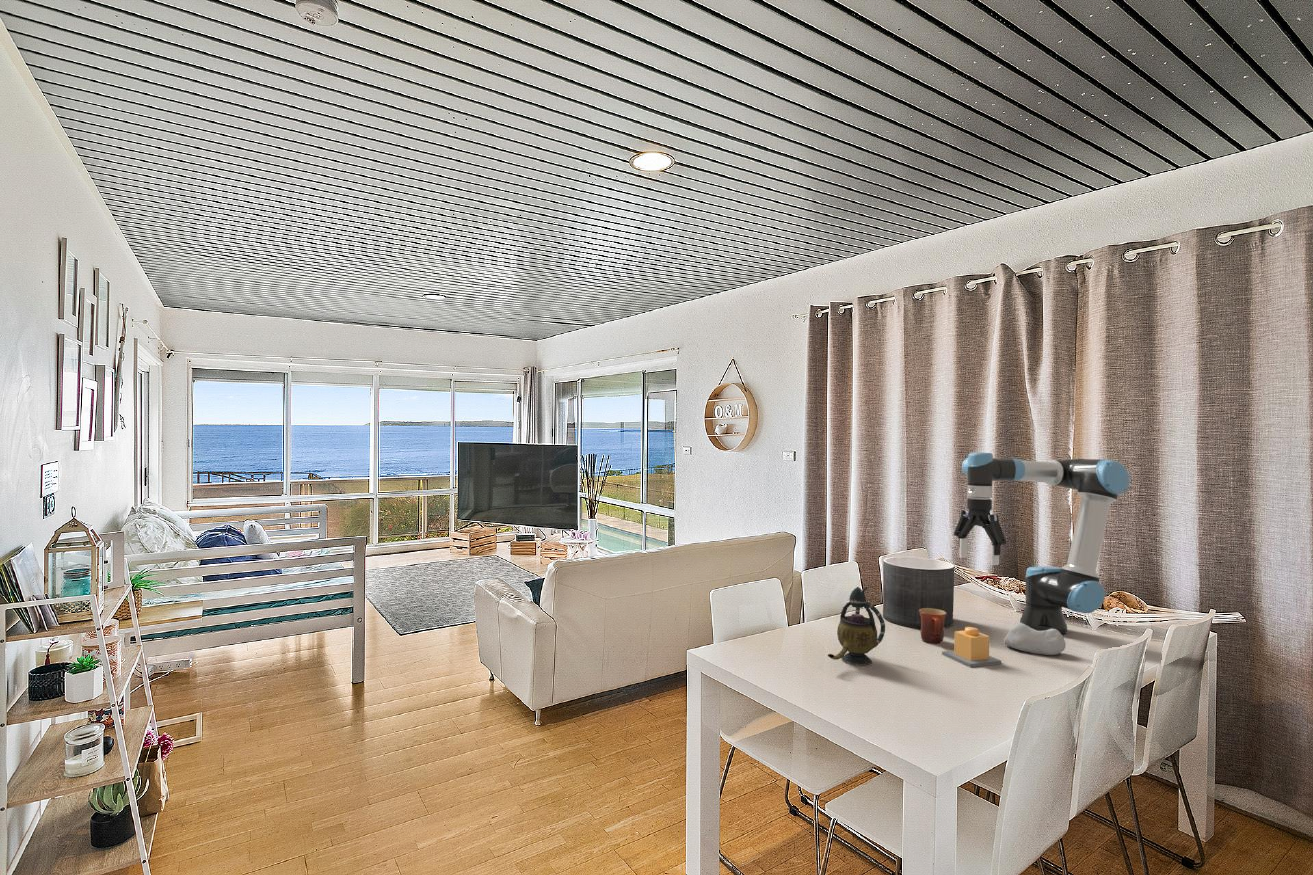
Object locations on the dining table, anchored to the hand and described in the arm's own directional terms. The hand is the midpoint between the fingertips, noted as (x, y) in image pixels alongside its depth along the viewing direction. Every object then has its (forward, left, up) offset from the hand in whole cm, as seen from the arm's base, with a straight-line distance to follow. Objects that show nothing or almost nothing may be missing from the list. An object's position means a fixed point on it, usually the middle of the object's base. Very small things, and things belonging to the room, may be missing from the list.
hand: (978, 561), depth 218 cm
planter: (-2, -32, -29) cm, 43 cm away
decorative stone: (-16, +8, -29) cm, 34 cm away
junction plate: (+12, +10, -29) cm, 33 cm away
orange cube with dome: (+12, +10, -28) cm, 32 cm away
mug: (+12, -7, -29) cm, 32 cm away
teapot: (+52, +4, -29) cm, 60 cm away
